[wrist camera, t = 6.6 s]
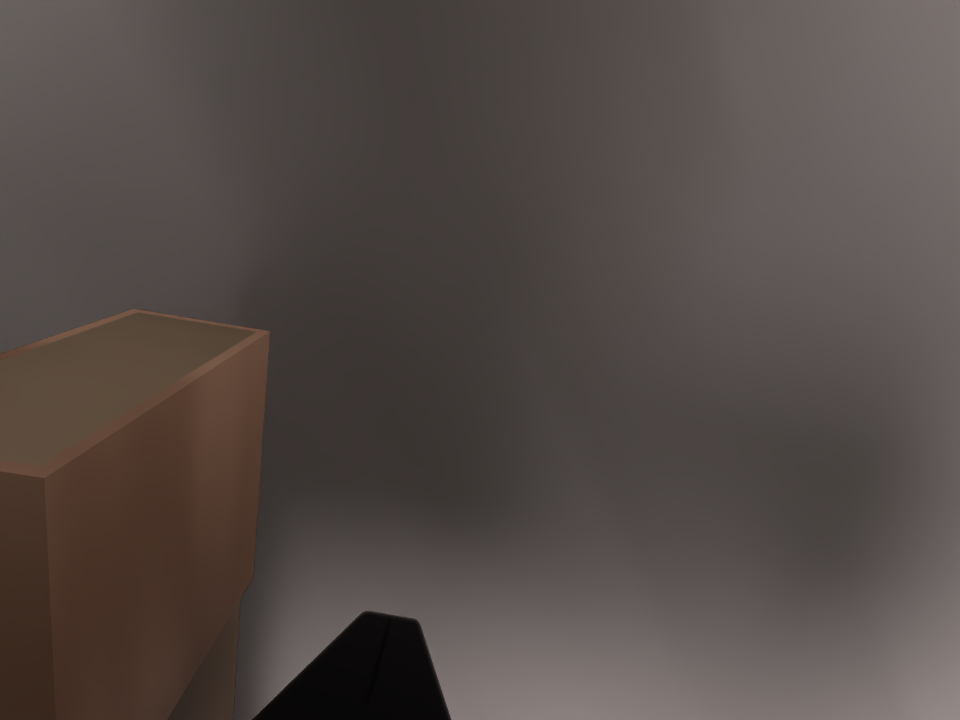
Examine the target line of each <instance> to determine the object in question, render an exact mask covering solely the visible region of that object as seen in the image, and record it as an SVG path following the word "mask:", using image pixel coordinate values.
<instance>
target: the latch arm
mask: <svg viewBox="0 0 960 720" xmlns="http://www.w3.org/2000/svg"><path fill="white" fill-rule="evenodd" d="M269 341H270V331H266V330H260V329H254V328H248V327H242V326H236V325H230V324H224V323H217V322H211V321H205V320H199V319H193V318H187V317H181V316H175V315H168V314H162V313H156V312H150V311H144V310H138V309H131V310H128V311H126V312H123V313H120V314H117V315H114V316H111V317H108V318H105V319H102V320H99V321H96V322H93V323H90V324H87V325H84V326H81V327H78V328H75V329H72V330H69V331H66V332H63V333H60V334H58V335H55V336H52V337H49V338H46V339H43V340H40V341H37V342H34V343H31V344H28V345H25V346H22V347H19V348H16V349H13V350H10V351H7V352H4V353H1V354H0V720H233V717H234V701H235V684H236V667H237V651H238V634H239V618H240V601H241V597H242V595H243V594H244V592H245V590H246V589H247V587H248V585H249V584H250V582H251V581H252V579H253V577H254V565H255V550H256V535H257V520H258V505H259V490H260V475H261V460H262V445H263V430H264V416H265V401H266V386H267V371H268V356H269Z"/></svg>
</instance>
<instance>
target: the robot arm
mask: <svg viewBox="0 0 960 720" xmlns="http://www.w3.org/2000/svg"><path fill="white" fill-rule="evenodd" d="M252 720H451V717H450V714H449V711H448V708H447V705H446V702H445V699H444V696H443V693H442V690H441V687H440V684H439V681H438V678H437V675H436V671H435V668H434V665H433V662H432V659H431V656H430V653H429V650H428V647H427V644H426V641H425V638H424V635H423V632H422V629H421V626H420V624H419V622H418V621H417V620H416V619H413V618H407V617H401V616H395V615H390V614H384V613H378V612H372V611H365V612H363V613H361V614H360V615H359V616H358V617H357V618H356V619H355V620H354V621H353V622H352V623H351V624H350V625H349V626H348V627H347V628H346V629H345V630H344V631H343V632H342V633H341V634H340V635H339V636H337V637H336V638H335V639H334V640H333V641H332V642H331V643H330V644H329V645H328V646H327V647H326V648H325V649H324V650H323V651H322V652H321V653H320V654H319V655H318V656H317V657H316V658H315V659H314V660H313V661H312V662H311V663H310V664H309V665H308V666H307V667H306V668H305V669H304V670H303V671H302V672H301V673H300V674H298V675H297V676H296V677H295V678H294V679H293V680H292V681H291V682H290V683H289V684H288V685H287V686H286V687H285V688H284V689H283V690H282V691H281V692H280V693H279V694H278V695H277V696H276V697H275V698H274V699H273V700H272V701H271V702H270V703H269V704H268V705H267V706H266V707H265V708H264V709H263V710H262V711H261V712H260V713H258V714H257V715H256V716H255V717H254V718H253V719H252Z"/></svg>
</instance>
